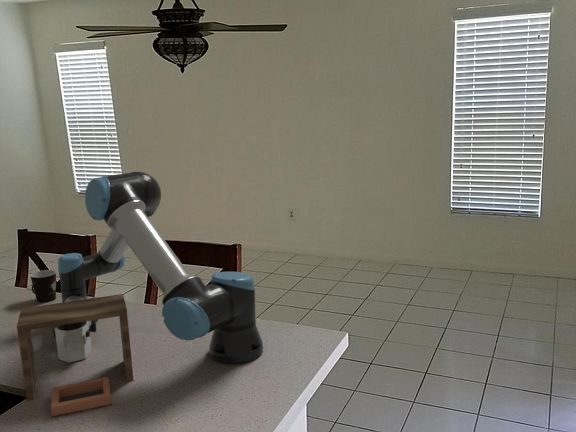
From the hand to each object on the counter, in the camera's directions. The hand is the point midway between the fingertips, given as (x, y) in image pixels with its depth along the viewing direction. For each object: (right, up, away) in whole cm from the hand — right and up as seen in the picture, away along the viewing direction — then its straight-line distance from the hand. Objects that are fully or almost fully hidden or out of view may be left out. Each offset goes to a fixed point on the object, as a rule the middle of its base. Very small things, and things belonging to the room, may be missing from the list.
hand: (74, 341), depth 149 cm
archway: (+5, -8, -7) cm, 12 cm away
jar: (-2, -6, +6) cm, 9 cm away
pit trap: (+9, -10, -18) cm, 22 cm away
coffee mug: (-31, +3, +50) cm, 59 cm away
